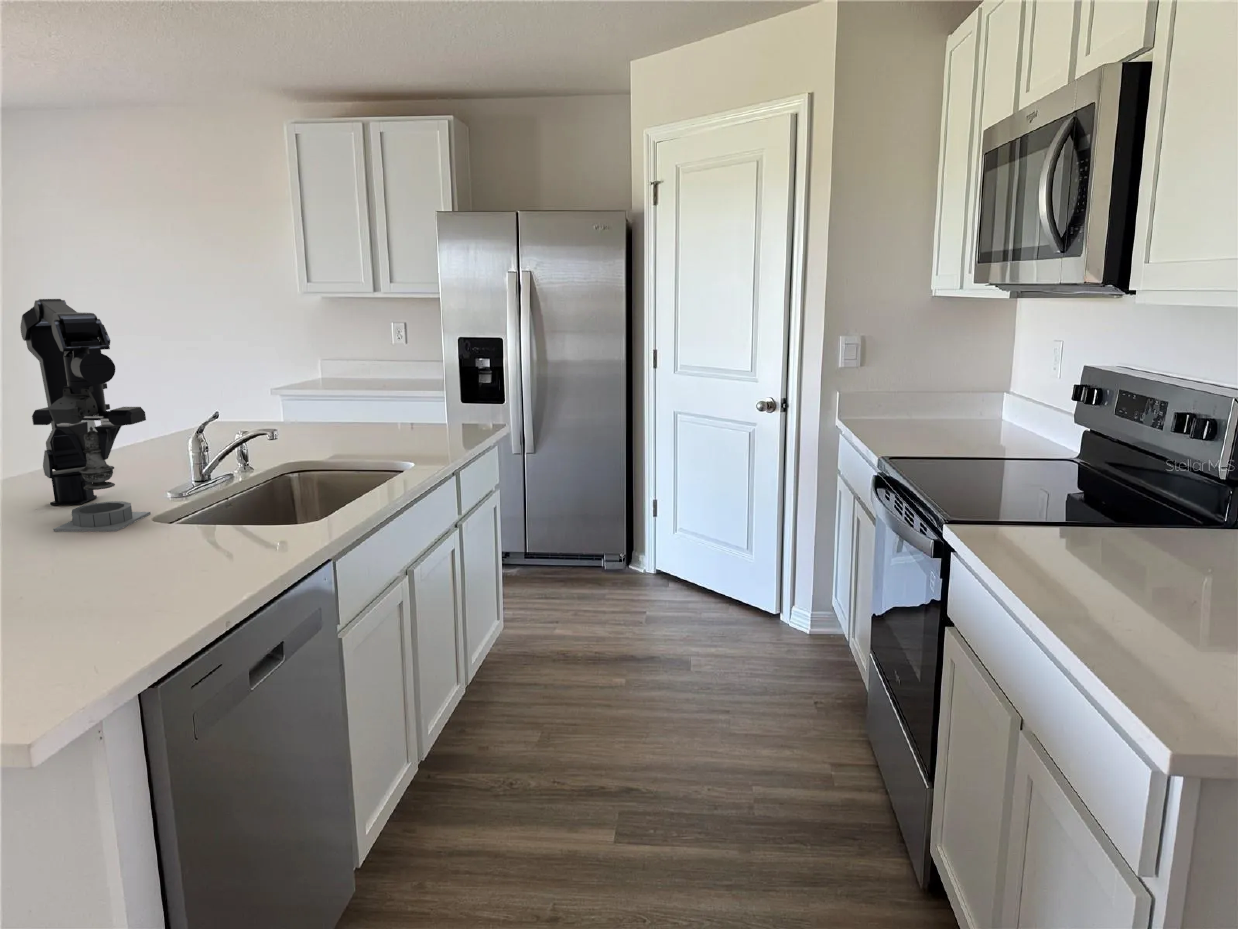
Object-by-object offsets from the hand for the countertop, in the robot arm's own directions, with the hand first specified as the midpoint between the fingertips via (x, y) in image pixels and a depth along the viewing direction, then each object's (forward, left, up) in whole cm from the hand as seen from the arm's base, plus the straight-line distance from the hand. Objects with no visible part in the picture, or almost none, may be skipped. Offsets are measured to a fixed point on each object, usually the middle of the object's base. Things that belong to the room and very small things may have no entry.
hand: (95, 459), depth 162 cm
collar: (0, 0, -13) cm, 13 cm away
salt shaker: (0, 0, -6) cm, 6 cm away
